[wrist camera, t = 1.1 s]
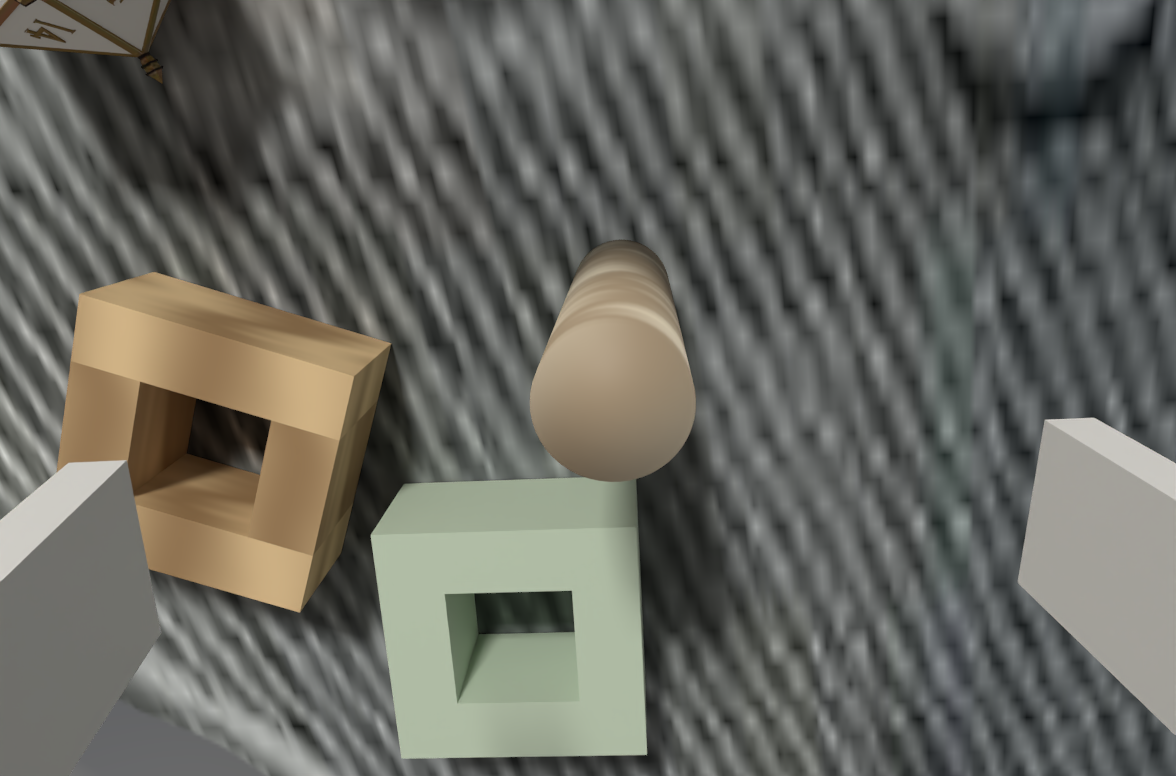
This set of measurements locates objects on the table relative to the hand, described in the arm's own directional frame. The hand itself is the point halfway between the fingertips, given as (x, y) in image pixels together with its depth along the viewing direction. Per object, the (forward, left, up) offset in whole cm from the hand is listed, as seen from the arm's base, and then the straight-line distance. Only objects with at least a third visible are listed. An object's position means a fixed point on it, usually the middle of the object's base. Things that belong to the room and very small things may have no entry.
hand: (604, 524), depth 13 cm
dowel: (0, 0, -19) cm, 19 cm away
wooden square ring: (+12, +9, -19) cm, 25 cm away
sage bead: (0, +12, -19) cm, 23 cm away
